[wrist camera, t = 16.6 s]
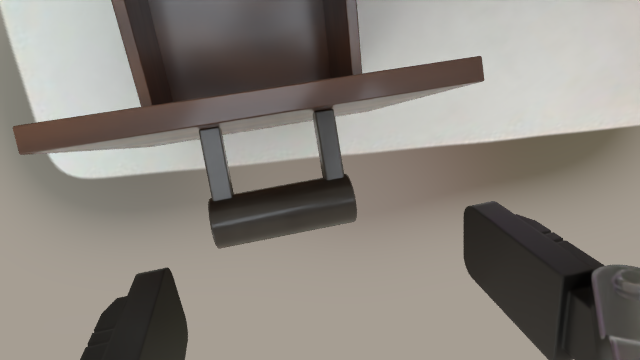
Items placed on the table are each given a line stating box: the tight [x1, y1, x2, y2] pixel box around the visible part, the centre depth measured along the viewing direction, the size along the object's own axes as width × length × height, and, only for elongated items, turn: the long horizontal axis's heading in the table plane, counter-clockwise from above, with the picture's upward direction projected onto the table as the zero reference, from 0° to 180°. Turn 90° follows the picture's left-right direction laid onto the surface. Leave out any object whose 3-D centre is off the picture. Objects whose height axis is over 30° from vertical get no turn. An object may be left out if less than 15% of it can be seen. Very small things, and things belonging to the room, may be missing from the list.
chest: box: [111, 0, 362, 107], centre depth 28 cm, size 13×14×8 cm
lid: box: [13, 56, 484, 248], centre depth 19 cm, size 14×14×5 cm
